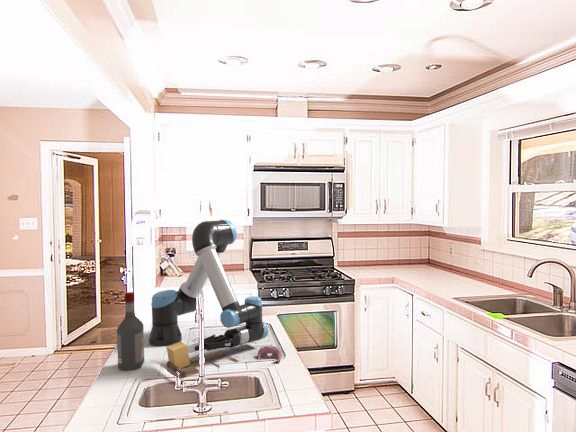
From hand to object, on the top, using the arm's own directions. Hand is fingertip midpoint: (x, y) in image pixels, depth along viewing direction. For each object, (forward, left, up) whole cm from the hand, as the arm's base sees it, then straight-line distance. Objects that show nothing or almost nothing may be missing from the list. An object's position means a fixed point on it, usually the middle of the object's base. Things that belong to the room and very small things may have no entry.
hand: (186, 349), depth 176 cm
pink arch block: (+15, +30, -8) cm, 34 cm away
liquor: (-18, -16, -8) cm, 25 cm away
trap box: (+3, +6, -8) cm, 11 cm away
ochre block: (-1, -3, -6) cm, 6 cm away
